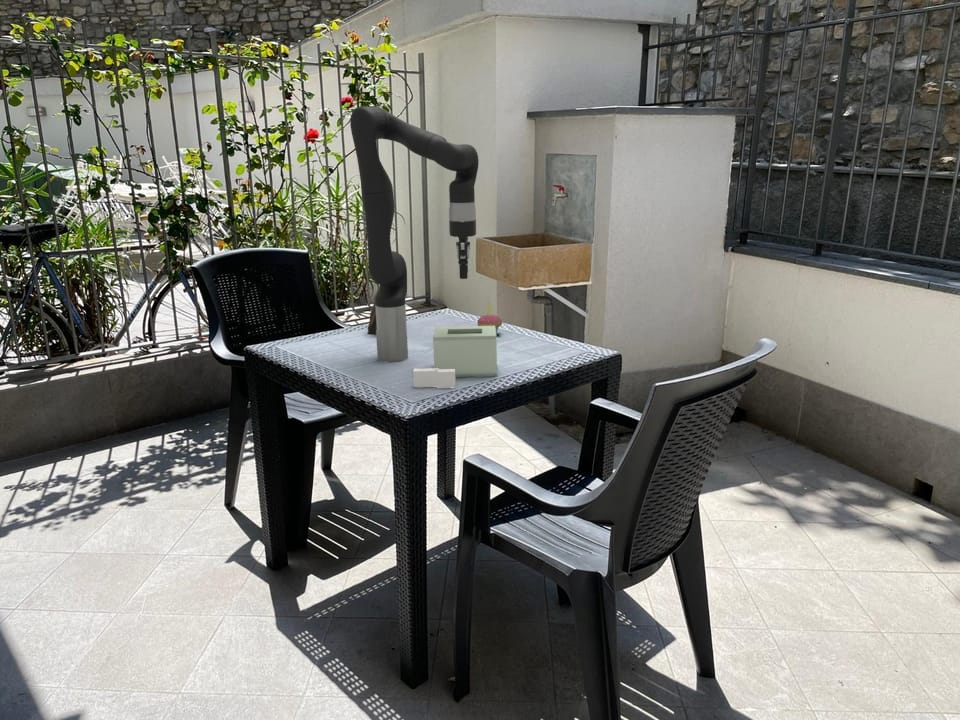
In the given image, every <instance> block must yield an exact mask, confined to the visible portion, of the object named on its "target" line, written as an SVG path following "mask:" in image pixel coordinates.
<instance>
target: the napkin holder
mask: <svg viewBox="0 0 960 720" xmlns="http://www.w3.org/2000/svg"><path fill="white" fill-rule="evenodd" d="M455 385H456V377H455V369H439V368H434V367H433V368H430V367H429V368H428V367H427V368H413V388H414V387H433V386H439V388H450V387H455V388H456V386H455ZM439 388H438V389H439ZM450 389H451V388H450Z"/></svg>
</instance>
